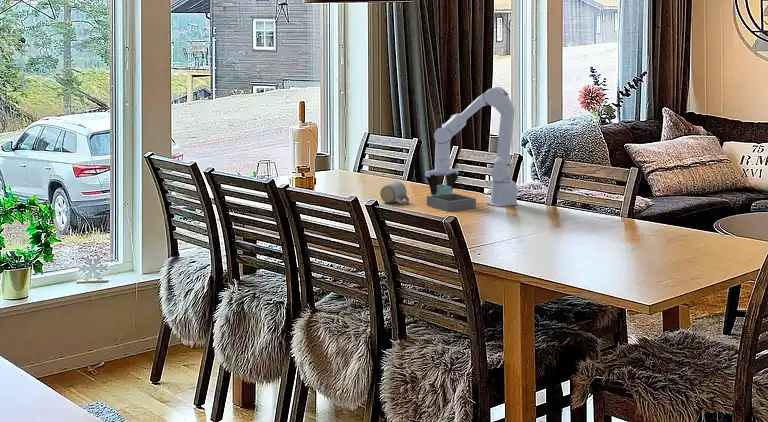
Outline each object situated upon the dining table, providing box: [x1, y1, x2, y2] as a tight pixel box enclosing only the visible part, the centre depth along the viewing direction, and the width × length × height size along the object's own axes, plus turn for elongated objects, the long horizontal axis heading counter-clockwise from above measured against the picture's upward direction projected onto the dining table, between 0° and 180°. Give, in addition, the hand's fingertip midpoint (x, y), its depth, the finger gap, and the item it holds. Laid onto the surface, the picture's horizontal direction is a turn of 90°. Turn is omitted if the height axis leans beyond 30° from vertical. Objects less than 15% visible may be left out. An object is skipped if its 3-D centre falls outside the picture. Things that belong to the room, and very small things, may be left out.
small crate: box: [431, 184, 453, 196], centre depth 364 cm, size 5×5×6 cm
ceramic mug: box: [379, 180, 410, 205], centre depth 358 cm, size 11×8×8 cm
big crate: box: [426, 192, 477, 212], centre depth 352 cm, size 13×13×4 cm
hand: (441, 193), depth 365 cm, fingers open, 7 cm apart
